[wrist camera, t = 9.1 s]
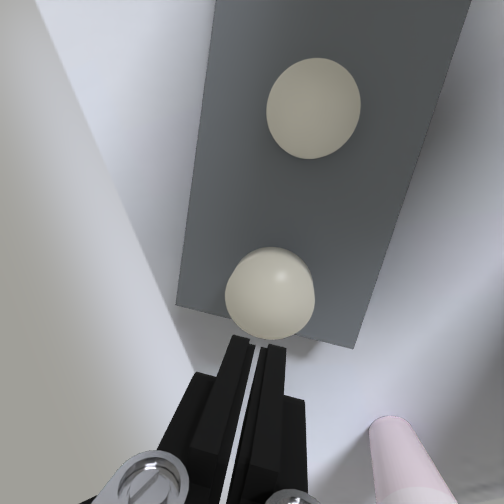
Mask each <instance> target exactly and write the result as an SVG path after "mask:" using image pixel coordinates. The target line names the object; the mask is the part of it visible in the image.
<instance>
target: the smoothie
mask: <svg viewBox="0 0 504 504" xmlns="http://www.w3.org/2000/svg"><path fill="white" fill-rule="evenodd" d="M369 440H370V449H371V459H372V468H373V477H374V486H375V495H376V504H458V503H457V501H456V499H455V498H454V496H453V494H452V493H451V491H450V489H449V488H448V486H447V484H446V483H445V481H444V479H443V478H442V476H441V475H440V473H439V471H438V470H437V468H436V466H435V465H434V463H433V461H432V460H431V458H430V456H429V455H428V453H427V451H426V450H425V448H424V446H423V445H422V443H421V441H420V440H419V438H418V437H417V435H416V433H415V432H414V430H413V428H412V427H411V425H410V424H409V423H408V422H407V421H406V420H404V419H402V418H400V417H396V416H384V417H381V418H379V419H377V420H375V421H374V422H373V423H372V424H371V426H370V428H369Z"/></svg>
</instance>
